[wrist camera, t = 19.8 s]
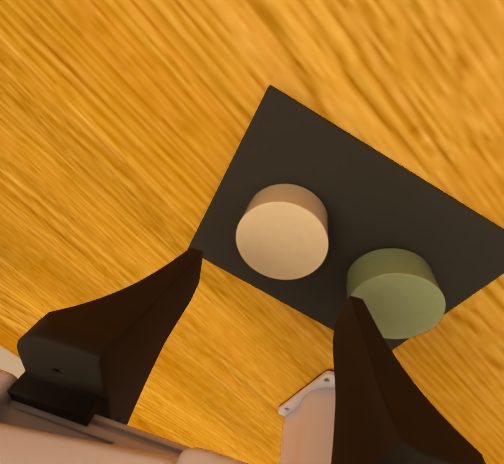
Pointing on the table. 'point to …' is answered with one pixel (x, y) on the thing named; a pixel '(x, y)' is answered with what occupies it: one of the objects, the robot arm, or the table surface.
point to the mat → (345, 211)
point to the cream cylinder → (284, 232)
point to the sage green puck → (397, 292)
